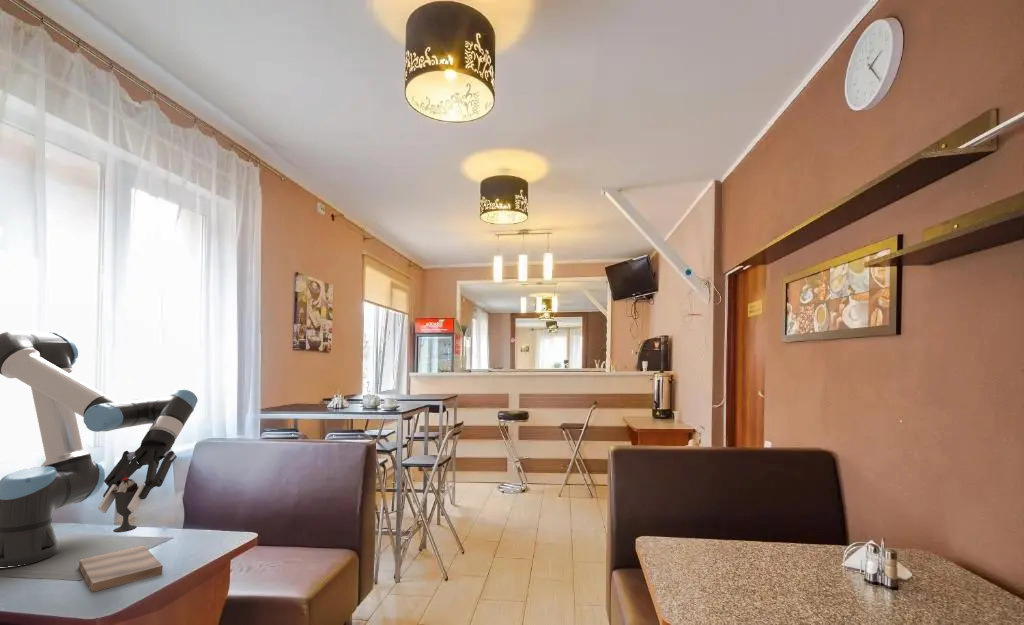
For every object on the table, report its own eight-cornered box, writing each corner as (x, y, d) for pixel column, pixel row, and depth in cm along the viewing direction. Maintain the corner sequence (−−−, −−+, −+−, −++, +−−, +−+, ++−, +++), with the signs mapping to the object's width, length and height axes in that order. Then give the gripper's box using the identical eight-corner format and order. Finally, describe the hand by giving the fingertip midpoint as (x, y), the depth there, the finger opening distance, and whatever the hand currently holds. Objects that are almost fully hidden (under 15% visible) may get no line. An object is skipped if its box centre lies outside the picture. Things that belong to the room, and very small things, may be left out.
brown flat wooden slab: (78, 567, 132) (79, 559, 132) (143, 552, 142) (143, 545, 142) (91, 592, 118) (92, 583, 118) (162, 573, 128) (162, 565, 129)
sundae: (112, 527, 133) (116, 469, 134) (143, 523, 135) (147, 467, 137) (104, 535, 127) (109, 474, 128) (137, 531, 129) (140, 472, 131)
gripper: (200, 443, 148) (161, 517, 131) (133, 443, 147) (84, 517, 130) (191, 427, 144) (149, 502, 126) (121, 427, 143) (69, 502, 125)
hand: (116, 510), depth 128 cm, fingers closed on sundae, 6 cm apart
